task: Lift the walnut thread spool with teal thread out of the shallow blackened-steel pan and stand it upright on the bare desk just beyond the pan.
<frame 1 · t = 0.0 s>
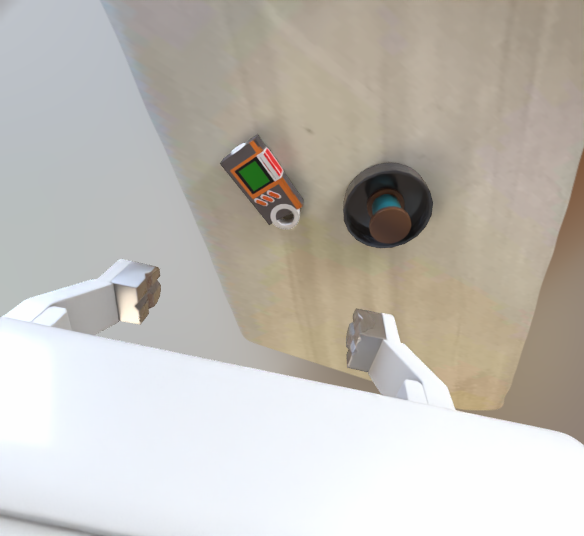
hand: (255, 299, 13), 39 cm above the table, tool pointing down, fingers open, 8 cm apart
electronic device: (269, 184, 52), on the table
pan: (384, 202, 51), on the table
spool: (385, 204, 51), resting on pan
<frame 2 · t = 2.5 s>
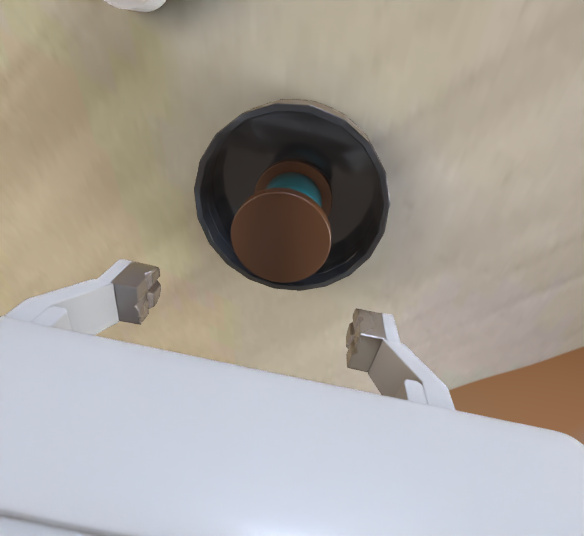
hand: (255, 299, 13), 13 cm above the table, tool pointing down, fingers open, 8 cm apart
pan: (294, 195, 24), on the table
spool: (293, 197, 24), resting on pan
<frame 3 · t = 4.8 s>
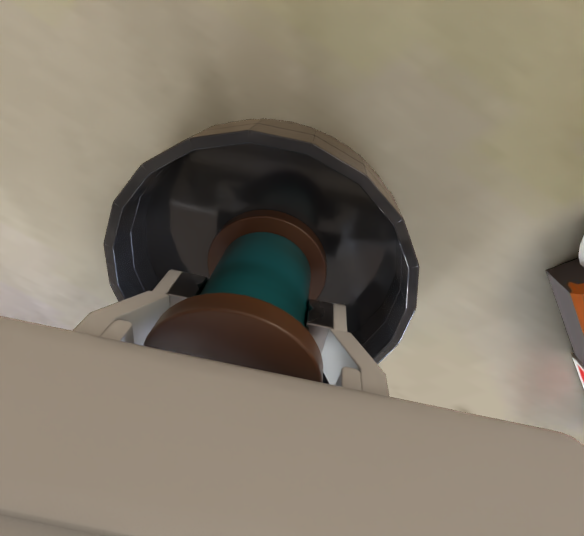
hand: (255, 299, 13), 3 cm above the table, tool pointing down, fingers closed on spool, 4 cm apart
pan: (269, 258, 16), on the table
spool: (268, 263, 16), resting on pan, touching gripper
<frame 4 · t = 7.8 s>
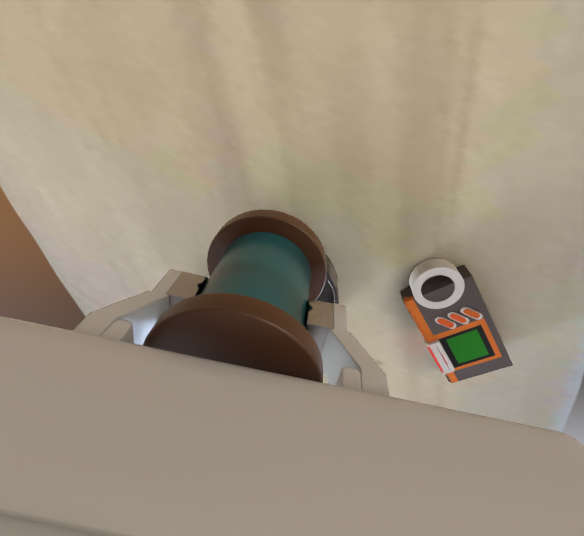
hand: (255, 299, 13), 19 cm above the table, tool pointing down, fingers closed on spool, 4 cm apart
electronic device: (448, 311, 35), on the table
pan: (278, 284, 36), on the table
spool: (268, 263, 16), point 16 cm above the table, touching gripper
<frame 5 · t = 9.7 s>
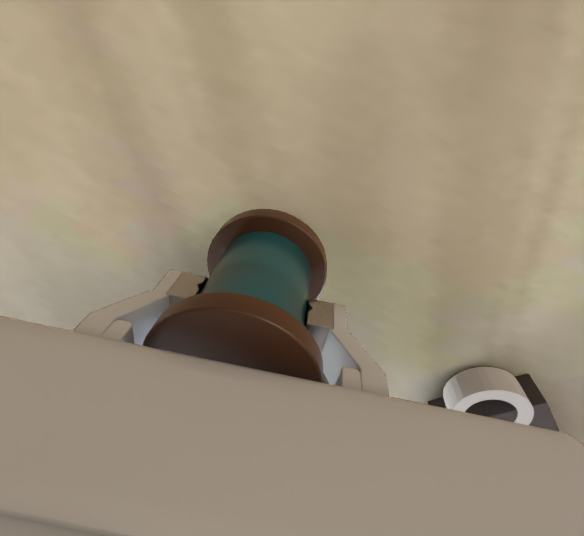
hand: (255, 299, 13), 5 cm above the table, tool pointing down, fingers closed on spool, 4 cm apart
electronic device: (497, 426, 24), on the table
spool: (268, 263, 16), point 2 cm above the table, touching gripper
when the fingers open (3 cm above the table, at t = 10.8 s): spool stays where it is, on the table.
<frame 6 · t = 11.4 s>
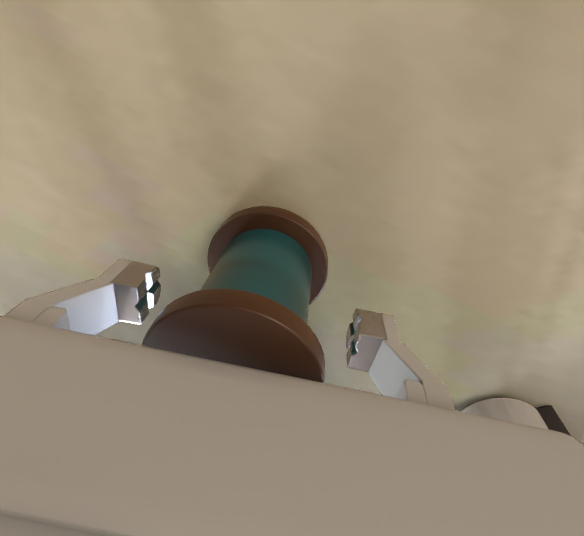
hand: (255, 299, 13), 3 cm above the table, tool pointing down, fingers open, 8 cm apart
electronic device: (513, 457, 22), on the table
spool: (269, 260, 16), on the table
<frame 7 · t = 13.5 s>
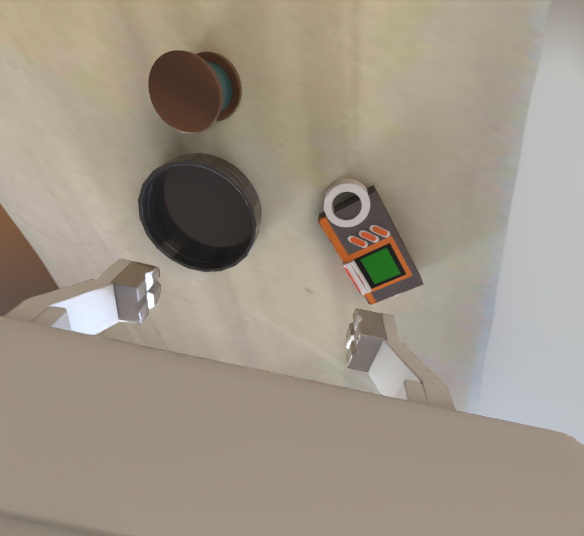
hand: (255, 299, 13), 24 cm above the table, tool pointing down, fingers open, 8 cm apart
electronic device: (366, 235, 37), on the table
pan: (206, 210, 38), on the table
spool: (212, 87, 31), on the table
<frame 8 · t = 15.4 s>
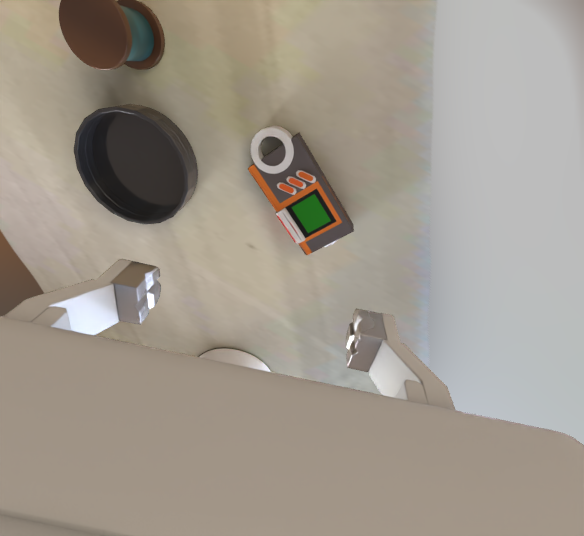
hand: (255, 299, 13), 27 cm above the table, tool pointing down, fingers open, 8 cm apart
electronic device: (299, 186, 39), on the table
pan: (145, 163, 39), on the table
spool: (137, 36, 32), on the table
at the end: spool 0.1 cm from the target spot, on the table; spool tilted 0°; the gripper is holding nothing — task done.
